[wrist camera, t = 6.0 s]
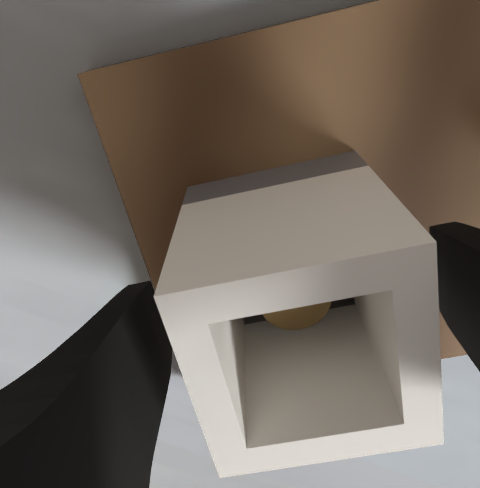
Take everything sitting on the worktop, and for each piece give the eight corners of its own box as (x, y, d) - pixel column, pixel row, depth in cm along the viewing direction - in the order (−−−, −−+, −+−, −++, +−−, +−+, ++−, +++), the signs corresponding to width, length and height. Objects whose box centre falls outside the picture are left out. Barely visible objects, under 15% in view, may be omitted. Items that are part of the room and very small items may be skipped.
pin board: (769, -96, 11) (1062, -160, 7) (674, 299, 17) (815, 389, 12) (88, 70, 13) (20, 93, 9) (196, 381, 18) (184, 484, 14)
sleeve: (355, 150, 13) (436, 241, 8) (371, 294, 15) (443, 443, 10) (187, 187, 14) (153, 296, 8) (226, 321, 16) (219, 477, 10)
